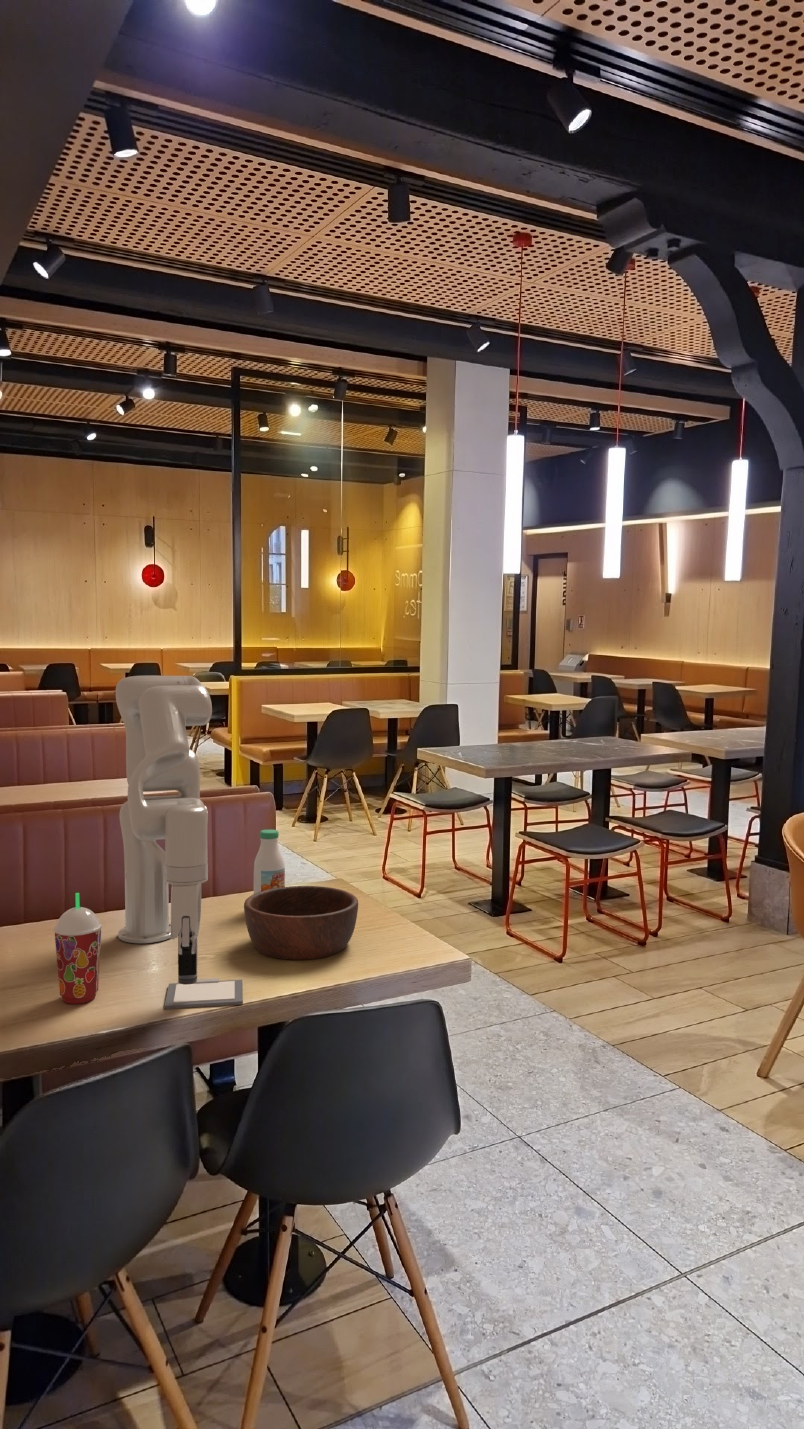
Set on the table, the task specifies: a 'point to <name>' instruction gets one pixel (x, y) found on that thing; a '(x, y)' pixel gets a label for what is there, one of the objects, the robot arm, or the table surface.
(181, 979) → the orange topped gray cylinder
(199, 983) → the clipboard
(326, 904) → the wooden bowl
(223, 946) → the table surface
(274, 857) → the milk bottle
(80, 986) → the smoothie
